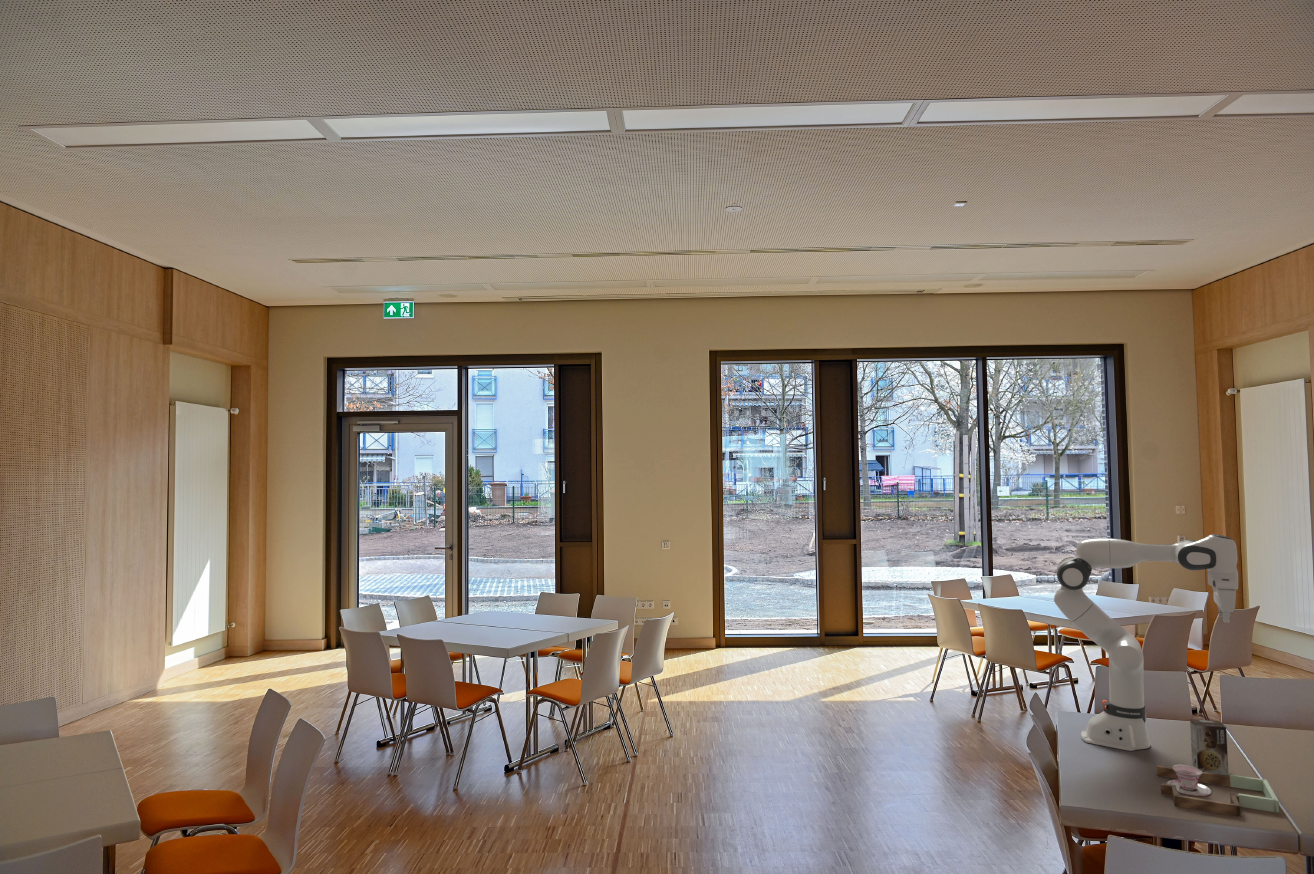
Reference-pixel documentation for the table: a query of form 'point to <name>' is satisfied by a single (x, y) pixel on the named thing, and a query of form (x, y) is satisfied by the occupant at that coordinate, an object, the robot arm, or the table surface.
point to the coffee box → (1209, 746)
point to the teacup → (1189, 780)
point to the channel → (1199, 803)
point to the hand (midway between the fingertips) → (1224, 619)
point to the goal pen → (1255, 801)
